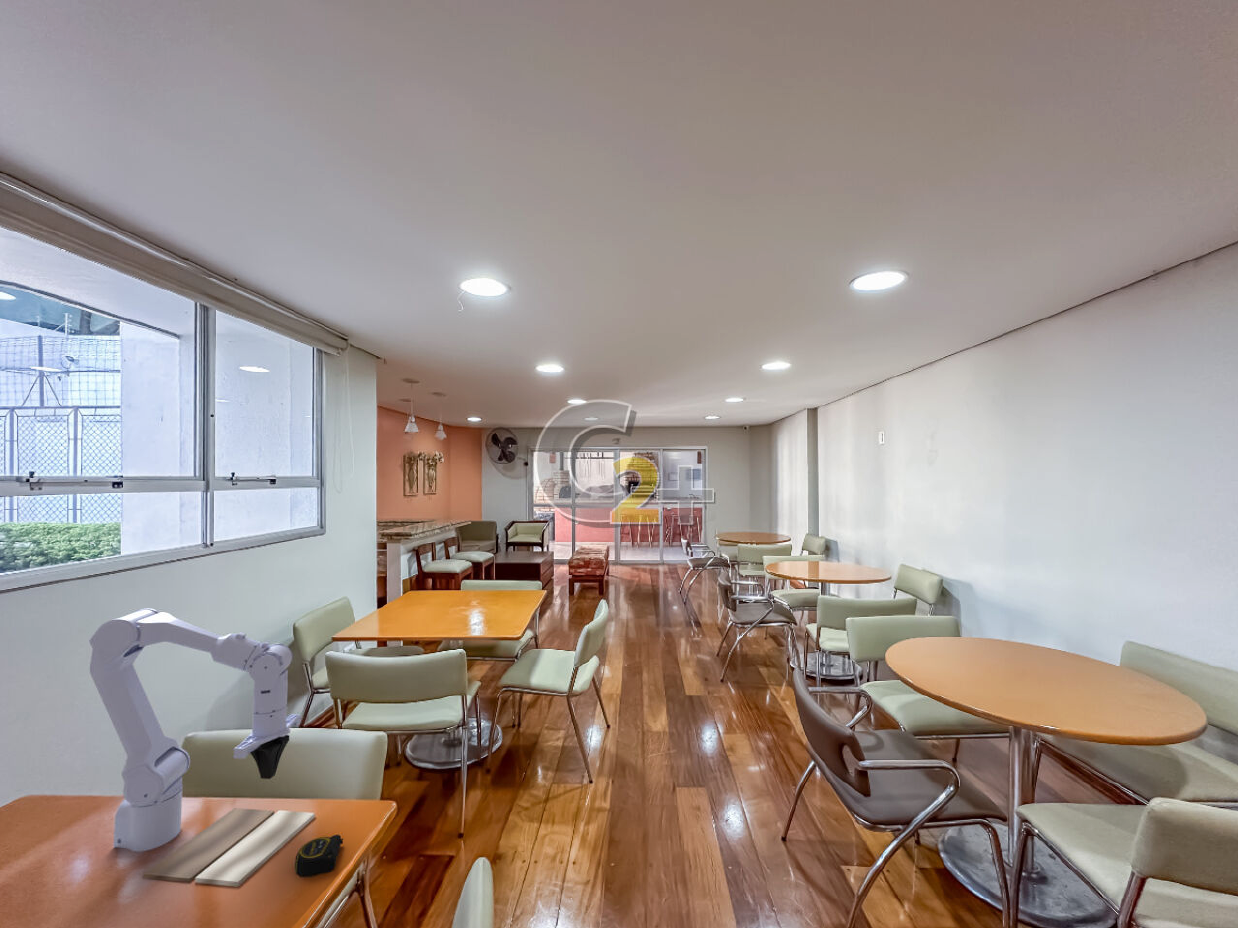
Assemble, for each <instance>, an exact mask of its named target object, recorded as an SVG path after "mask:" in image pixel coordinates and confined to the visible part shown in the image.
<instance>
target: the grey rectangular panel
mask: <svg viewBox="0 0 1238 928" xmlns="http://www.w3.org/2000/svg"><path fill="white" fill-rule="evenodd" d="M274 814H275V810H267V809H255V808H254V809H252V808H241V807H234V808H232V809H231V810H230V811H228V812H227V813H225V814H224V815H223V816H221V817H220V818H219V819H217V820H216V821H215V822H214V823H212V824H211V825H209V826H208V827H206V828H205V829H204V830H202V831H201V832H200V833H198V834H196V835H195V836H194V837H192V838H191V839H190V840H188V841H187V842H186V843H184V844H183V845H181V846H180V847H178V848H177V849H175V850H174V851H172V852H171V854H168V855H167V856H165V857H164V858H163V859H162V860H160V861H159V862H157V863H156V864H155V865H154V866H152V867H151V868H149V869H148V870H146V871H145V872H144V873H143V874H142V878H144V879H151V880H152V879H153V880H161V881H162V880H164V881H165V880H166V881H175V882H183V883H184V882H185V883H191V882H192V881H193V880H195V878H196V877H197V876H198V875H199V874H201V873H202V872H203V871H204V870H206V869H207V868H208V867H209V866H210V865H212V864H213V863H214V862H215V861H217V860H218V859H219V858H220V857H222V856H223V855H224V854H225V853H227V852H228V851H229V850H230V849H232V848H233V847H234V846H235V845H237V844H238V843H239V842H240V841H241V840H243V839H244V838H245V837H246V836H248V835H249V834H250V833H251V832H253V831H254V830H255V829H256V828H258V827H259V826H260V825H261V824H263V823H264V822H265V821H266V820H268V819H269V818H270V817H271V816H273V815H274Z"/></svg>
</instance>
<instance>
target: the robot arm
mask: <svg viewBox="0 0 1238 928" xmlns="http://www.w3.org/2000/svg"><path fill="white" fill-rule="evenodd" d="M163 642H164V643H165V642H166V643H169V644H170V643H171V644H174V645H178V646H182V647H186V648H189V649H193V650H198V651H201V652H205V653H209V654H210V655H211V659H212V660H213V662H214V663H218V664H221V665H224V666H228V667H231V668H233V669H237V670H239V671H243V672H246V673H249V674H248V675H249V676H250V677H251V679H252V680H253V681H254V682H253V684H254V685H253V699H252V702H253V704H252V724H251V725H252V730H251V733H250V734H249V735H248V736H247V737H246V738H245V739H244V740H243V741H242V742H241V743H239V744H238V745H237V746H236V747H234V748H233V759H237V760H244V759H245V758H247V757H248V754H250V755H251V756H252V758H253V760H254V761H255V764H256V767H257V769H258V773H259V777H260V779H262V780H263V779H264V780H271V779H272V778H273V777H275V775H276V773H277V769H278V766H279V763H280V759H281V757H282V755H283V752H284V750H285V748H286V746H287V744H288V743H289V742H290V733H291V728H292V727H294V726H295V727H296V726H299V725H300V724H301V714H295V713H293V714H290V715H287V713H288V690H289V689H288V686H289V685H288V684H289V682H288V675H289V674H288V672H289V670H288V669H287V668H289V666H290V664H291V662H292V661H293V652H292V650H291V648H289V647H288V646H287V645H284V644H283V643H281V642H280V643H279V642H277V643H273V644H271V643H270V642H268V641H264V642H261V641H259V640H256V639H252V638H250V637H247V634H246V633H244V632H241V631H240V632H238V633H235V632H231V633H229V634H226V635H223V636H222V635H220V634H217V633H214V632H212V631H209V630H207V629H204V628H202V627H199V626H196V625H194V624H192V623H190V622H186V621H185V620H182V619H179V618H177V617H175V616H173V615H172V614H170V613H169V612H164V611H163V612H162V611H161V612H160V611H159V610H157V609H155V608H141V609H138V610H136V611H135V612H132V613H130V614H127V615H124V616H121V617H119V618H114V619H111V620H107V621H105V622H104V623H102V624H101V625H100V626H99V627H98V628H97V630H96V631H95V633H93V635H92V636H91V638H90V639H89V645H90V646H91V648H92V652H91V657H90V663H89V673H90V676H91V678H92V680H93V683H94V685H95V687H96V689H97V692H98V694H99V696H100V698H101V700H102V703H103V705H104V706H105V710H106V712H107V713H108V716H109V718H110V720H111V723H112V725H113V726H114V727H113V728H114V729H115V731H116V734H117V736H118V738H119V741H120V743H121V745H122V746H123V750H124V752H125V754H126V756H127V757H126V760H125V763H124V766H123V768H122V771H121V777H122V778H123V781H124V782H123V783H124V784H123V791H122V793H123V797H124V800H122V802H121V804H120V805H119V806H118V809H117V810H116V812H115V816H114V828H113V848H122V849H123V848H124V849H127V850H130V851H132V852H145V851H149V850H153V849H156V848H159V847H161V846H164V845H165V844H167V843H168V842H169V843H170V841H172V840H174V839H175V838H176V837H177V836H179V834H180V833H181V829H182V806H183V805H182V804H183V802H182V801H183V775H185V773H186V772H187V771H188V770H189V767H190V765H191V757H190V754H189V753H188V752H187V751H186V750H185V749H183V748H182V747H180V745H179V743H178V741H177V740H176V738H171V737H168V736H165V734H164V732H163V730H162V728H161V725H160V723H159V721H158V718H157V716H156V714H155V711H154V710H153V709H154V708H153V707H152V705H151V702H150V701H149V698H148V695H147V693H146V691H145V689H144V687H143V685H142V682H141V681H140V678H139V676H138V673H137V671H136V669H135V667H134V662H135V661H136V659H137V658H138V657H139V656H140V654H141V652H142V651H143V650H144V648H145V647H146V646H151V645H155V644H161V643H163Z"/></svg>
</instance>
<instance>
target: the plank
mask: <svg viewBox="0 0 1238 928" xmlns="http://www.w3.org/2000/svg"><path fill="white" fill-rule="evenodd" d="M314 818H316V813H315V812H307V811H292V810H283V809H282V810H277V812H274V815H272V816H271V817H270V818H269V819H268V820H266V821H265V822H264V823H263V824H261V825H260V826H259V827H258V828H256V829H255V830H254V831H253V832H251V833H250V834H249V835H248V836H246V837H245V838H244V839H243V840H241V841H240V842H239V843H238V844H237V845H235V846H234V847H233V848H232V849H230V850H229V851H228V852H227V853H225V854H224V855H223V856H222V857H220V858H219V859H218V860H217V861H215V862H214V863H213V864H212V865H210V866H209V867H208V868H207V869H205V870H204V871H203V872H202V873H201V874H199V875H198V876H197V877H196V878H194V883H195V884H206V885H207V884H208V885H216V886H227V887H234V888H235V887H239V886H241V885H242V883H244V882H246V881H247V879H248V878H249V877H250V876H251V875H253V874H254V873H255V872H256V871H257V870H258V869H259V868H261V867H262V866H263V864H265V863H266V862H267V861H268V860H269V859H271V857H273V855H275V854H276V853H277V852H278V851H279V850H280V849H281V848H283V847H284V845H286V844H287V843H288V842H289V841H290V840H292V838H293V837H295V836H296V835H297V834H298V833H299V832H301V830H302V829H303V828H304V827H305V826H307V824H309V823H310V822H311V821H312V820H314Z"/></svg>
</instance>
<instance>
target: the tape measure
mask: <svg viewBox="0 0 1238 928" xmlns="http://www.w3.org/2000/svg"><path fill="white" fill-rule="evenodd" d="M343 840H344V838H342V837H341V834H334V835H332V836H331V837H330V836H320V837H317V838H314V839H312V840H310V841H307V842H306V843H305V844H303V845H302V846H301V847H300V848H299V850H298V851H297V854H296V856H295V859H294V871H295V873H296V875H297V876H299V877H302V878H303V877H304V878H310V877H311V878H312V877H315V876H319V875H321V874H325V873H330V872H332V871H334V870H335V868H336V864H337V857H338V855H339V852H340V848H341V845H342V844H344V841H343Z"/></svg>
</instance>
